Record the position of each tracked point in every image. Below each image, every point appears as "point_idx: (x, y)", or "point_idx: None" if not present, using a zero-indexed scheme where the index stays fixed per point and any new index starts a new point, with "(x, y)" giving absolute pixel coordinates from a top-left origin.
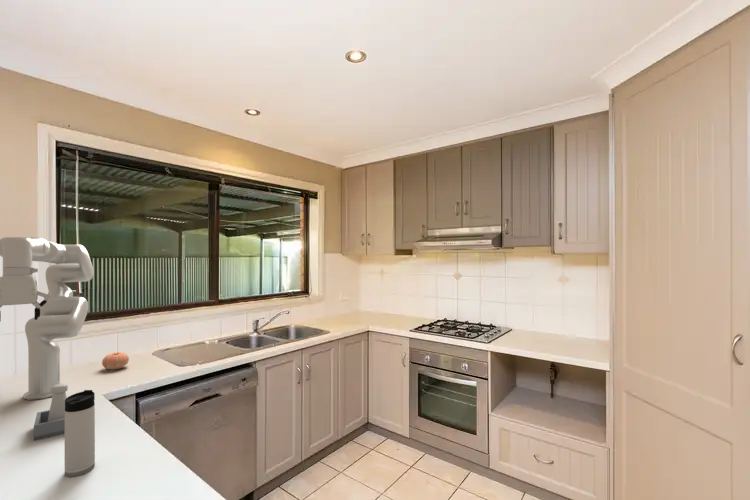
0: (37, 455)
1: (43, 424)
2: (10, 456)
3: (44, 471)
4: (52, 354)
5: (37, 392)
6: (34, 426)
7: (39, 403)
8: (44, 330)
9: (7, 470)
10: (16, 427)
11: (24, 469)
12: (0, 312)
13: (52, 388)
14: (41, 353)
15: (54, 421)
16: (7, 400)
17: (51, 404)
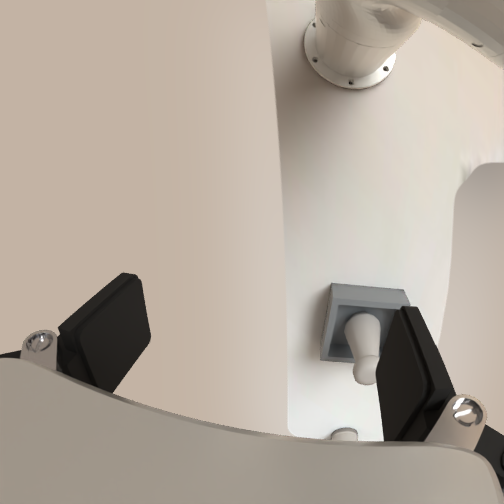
0: (318, 387)
1: (333, 360)
2: (291, 370)
3: (318, 420)
4: (400, 43)
5: (338, 71)
6: (321, 359)
7: (342, 120)
8: (408, 3)
9: (288, 399)
10: (300, 260)
11: (303, 407)
12: (91, 327)
13: (355, 379)
14: (366, 38)
15: (348, 362)
16: (271, 39)
17: (352, 351)
